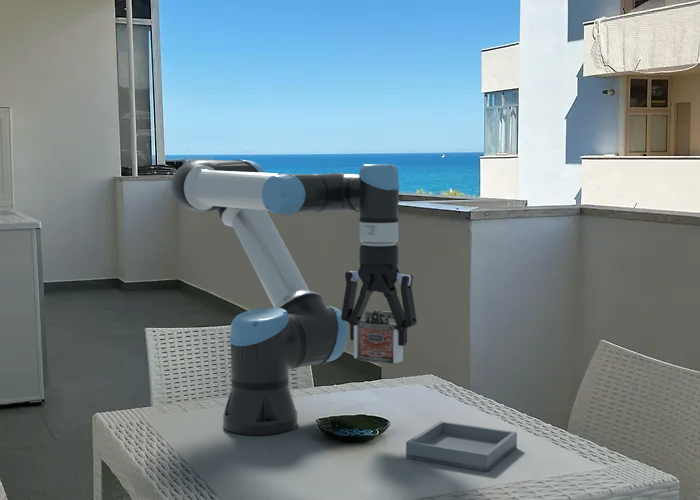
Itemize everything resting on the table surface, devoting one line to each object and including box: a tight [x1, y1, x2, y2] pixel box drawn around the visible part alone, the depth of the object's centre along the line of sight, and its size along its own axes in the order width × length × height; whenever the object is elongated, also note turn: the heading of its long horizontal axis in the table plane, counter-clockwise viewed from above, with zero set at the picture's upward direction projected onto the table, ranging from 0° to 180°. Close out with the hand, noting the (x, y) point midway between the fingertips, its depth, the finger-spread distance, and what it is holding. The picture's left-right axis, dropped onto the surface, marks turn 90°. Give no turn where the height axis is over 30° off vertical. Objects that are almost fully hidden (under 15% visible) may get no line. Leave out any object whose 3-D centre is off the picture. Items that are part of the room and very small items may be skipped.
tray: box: [405, 420, 518, 473], centre depth 172 cm, size 16×16×3 cm
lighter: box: [358, 309, 397, 364], centre depth 182 cm, size 8×3×10 cm, turn 68°
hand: (378, 359), depth 182 cm, fingers closed on lighter, 8 cm apart
